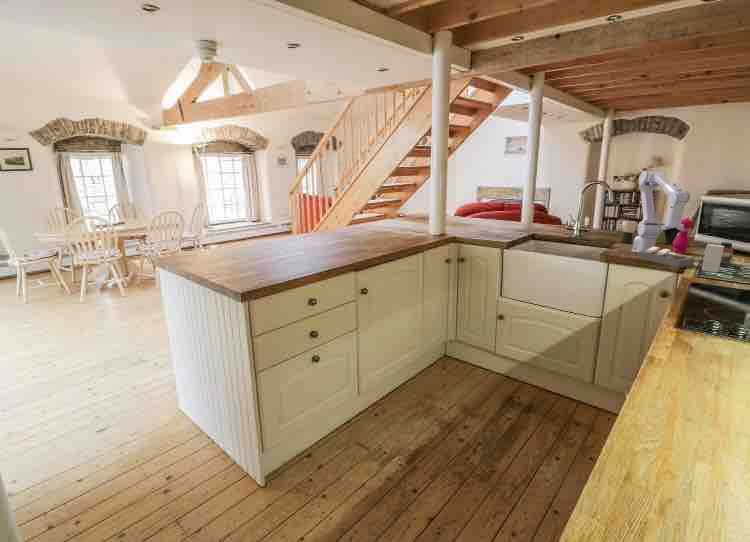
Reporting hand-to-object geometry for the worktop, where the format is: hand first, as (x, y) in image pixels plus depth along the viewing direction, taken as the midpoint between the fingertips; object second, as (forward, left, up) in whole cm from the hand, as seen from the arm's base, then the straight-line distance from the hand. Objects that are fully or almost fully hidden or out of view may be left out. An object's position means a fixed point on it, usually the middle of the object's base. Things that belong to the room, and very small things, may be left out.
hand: (668, 243), depth 205 cm
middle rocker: (+1, -5, -4) cm, 7 cm away
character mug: (-39, +26, -9) cm, 47 cm away
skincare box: (+20, -1, -9) cm, 22 cm away
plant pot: (-32, +47, -9) cm, 57 cm away
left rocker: (-4, -5, -4) cm, 8 cm away
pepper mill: (-10, +29, -9) cm, 32 cm away
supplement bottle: (+16, +17, -9) cm, 25 cm away
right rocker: (+7, -5, -4) cm, 9 cm away
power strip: (+1, -3, -9) cm, 10 cm away
